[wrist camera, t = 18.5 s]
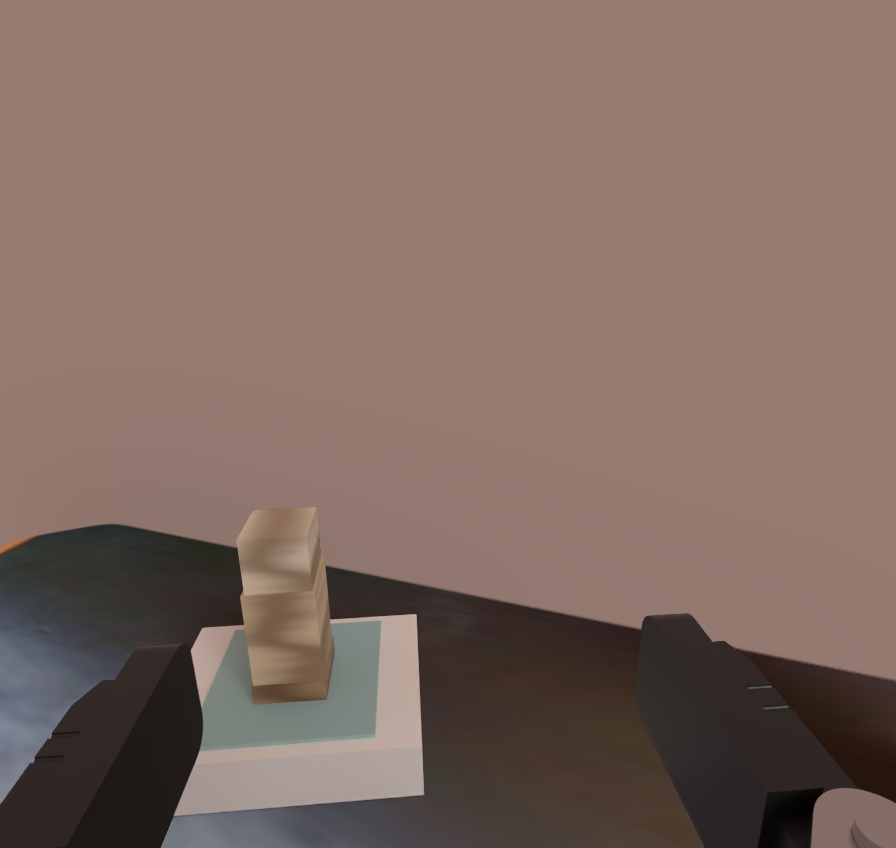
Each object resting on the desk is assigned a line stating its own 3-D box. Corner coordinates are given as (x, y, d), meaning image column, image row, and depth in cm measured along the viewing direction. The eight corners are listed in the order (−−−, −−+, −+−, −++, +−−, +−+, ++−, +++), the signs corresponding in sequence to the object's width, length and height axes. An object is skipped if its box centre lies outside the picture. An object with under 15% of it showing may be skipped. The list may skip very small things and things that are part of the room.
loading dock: (418, 653, 52) (416, 611, 50) (424, 794, 38) (421, 742, 37) (209, 667, 51) (202, 624, 49) (140, 819, 37) (128, 765, 36)
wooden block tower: (334, 652, 46) (321, 505, 42) (326, 699, 41) (310, 538, 37) (269, 656, 45) (250, 508, 42) (253, 704, 41) (230, 542, 37)
